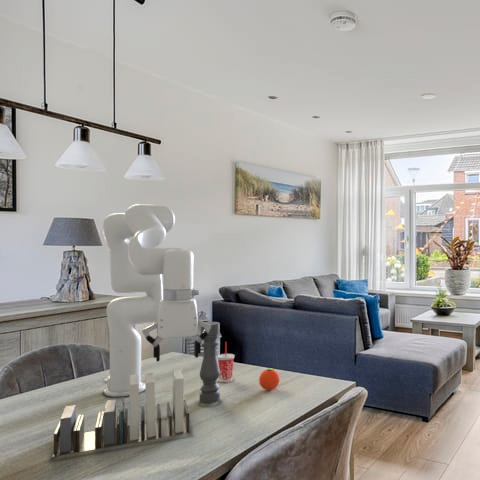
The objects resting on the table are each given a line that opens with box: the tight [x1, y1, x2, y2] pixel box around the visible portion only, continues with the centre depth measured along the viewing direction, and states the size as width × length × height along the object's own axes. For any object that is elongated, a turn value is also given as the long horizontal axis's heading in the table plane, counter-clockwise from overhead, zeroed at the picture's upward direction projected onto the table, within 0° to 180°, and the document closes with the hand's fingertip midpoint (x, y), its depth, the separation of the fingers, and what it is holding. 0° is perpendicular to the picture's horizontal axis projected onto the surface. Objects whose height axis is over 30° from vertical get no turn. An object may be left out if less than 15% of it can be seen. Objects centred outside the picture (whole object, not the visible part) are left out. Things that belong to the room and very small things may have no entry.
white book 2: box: [144, 371, 157, 438], centre depth 119 cm, size 2×9×14 cm, turn 26°
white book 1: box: [129, 374, 140, 441], centre depth 117 cm, size 2×9×14 cm, turn 26°
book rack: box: [52, 396, 191, 458], centre depth 116 cm, size 30×12×9 cm, turn 116°
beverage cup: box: [216, 341, 236, 383], centre depth 164 cm, size 6×6×14 cm
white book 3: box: [172, 369, 185, 433], centre depth 121 cm, size 2×9×14 cm, turn 26°
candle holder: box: [198, 321, 221, 404], centre depth 141 cm, size 6×6×25 cm
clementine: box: [258, 367, 281, 391], centre depth 155 cm, size 8×7×7 cm
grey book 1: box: [59, 404, 77, 453], centre depth 110 cm, size 2×9×8 cm, turn 26°
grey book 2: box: [104, 399, 117, 445], centre depth 114 cm, size 2×9×8 cm, turn 26°
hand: (177, 358), depth 122 cm, fingers open, 9 cm apart
